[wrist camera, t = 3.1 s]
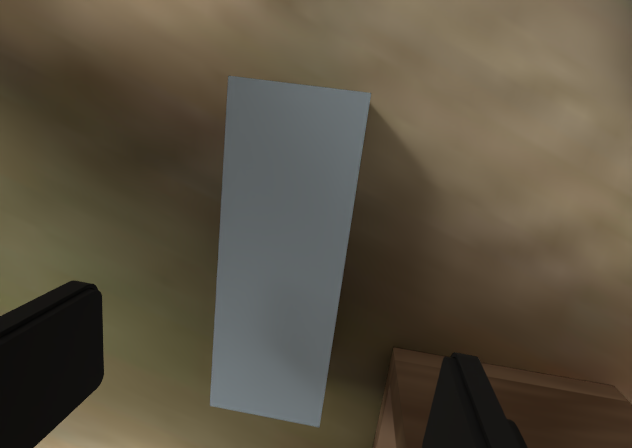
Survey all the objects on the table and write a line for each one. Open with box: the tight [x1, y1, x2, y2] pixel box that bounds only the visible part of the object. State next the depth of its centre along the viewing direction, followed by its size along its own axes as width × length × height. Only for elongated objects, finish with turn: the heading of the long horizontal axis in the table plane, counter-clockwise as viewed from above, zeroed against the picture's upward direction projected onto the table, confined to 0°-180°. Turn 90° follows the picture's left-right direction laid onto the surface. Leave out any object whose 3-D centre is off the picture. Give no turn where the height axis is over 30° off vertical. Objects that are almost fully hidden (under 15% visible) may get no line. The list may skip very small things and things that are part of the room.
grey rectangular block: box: [210, 76, 371, 427], centre depth 18 cm, size 14×5×6 cm, turn 173°
